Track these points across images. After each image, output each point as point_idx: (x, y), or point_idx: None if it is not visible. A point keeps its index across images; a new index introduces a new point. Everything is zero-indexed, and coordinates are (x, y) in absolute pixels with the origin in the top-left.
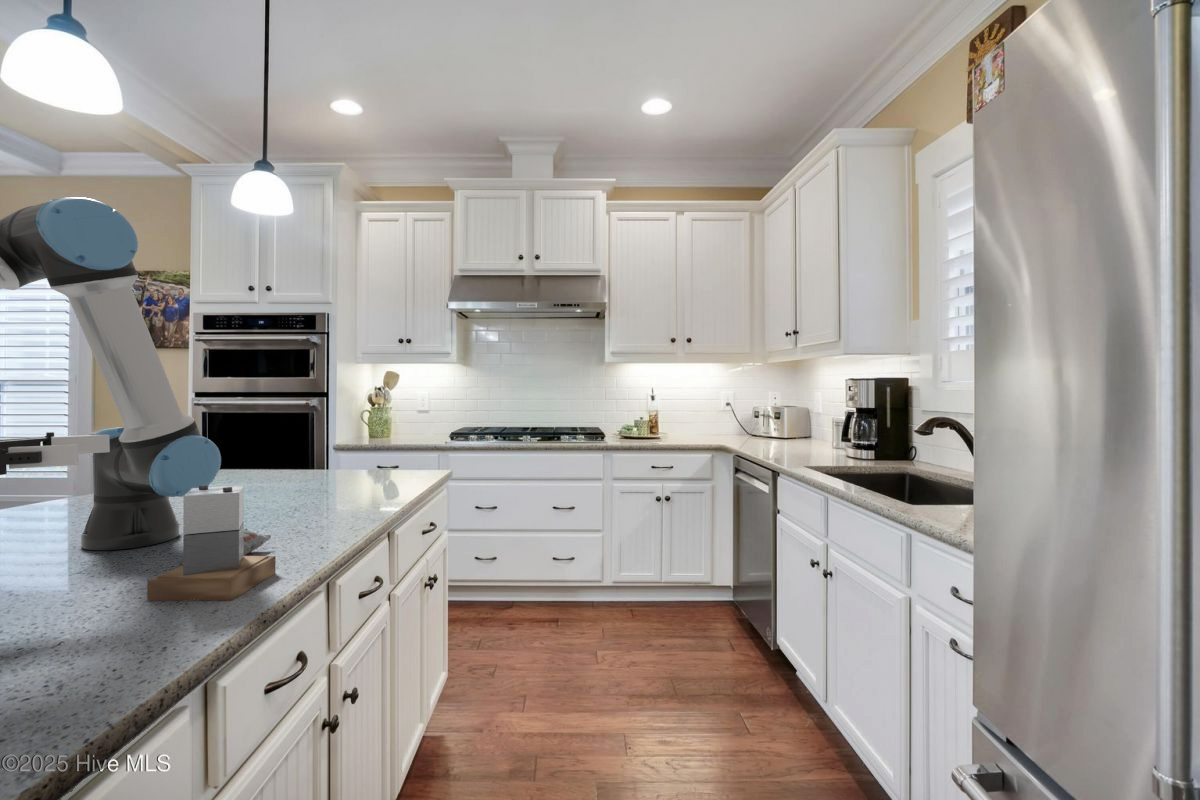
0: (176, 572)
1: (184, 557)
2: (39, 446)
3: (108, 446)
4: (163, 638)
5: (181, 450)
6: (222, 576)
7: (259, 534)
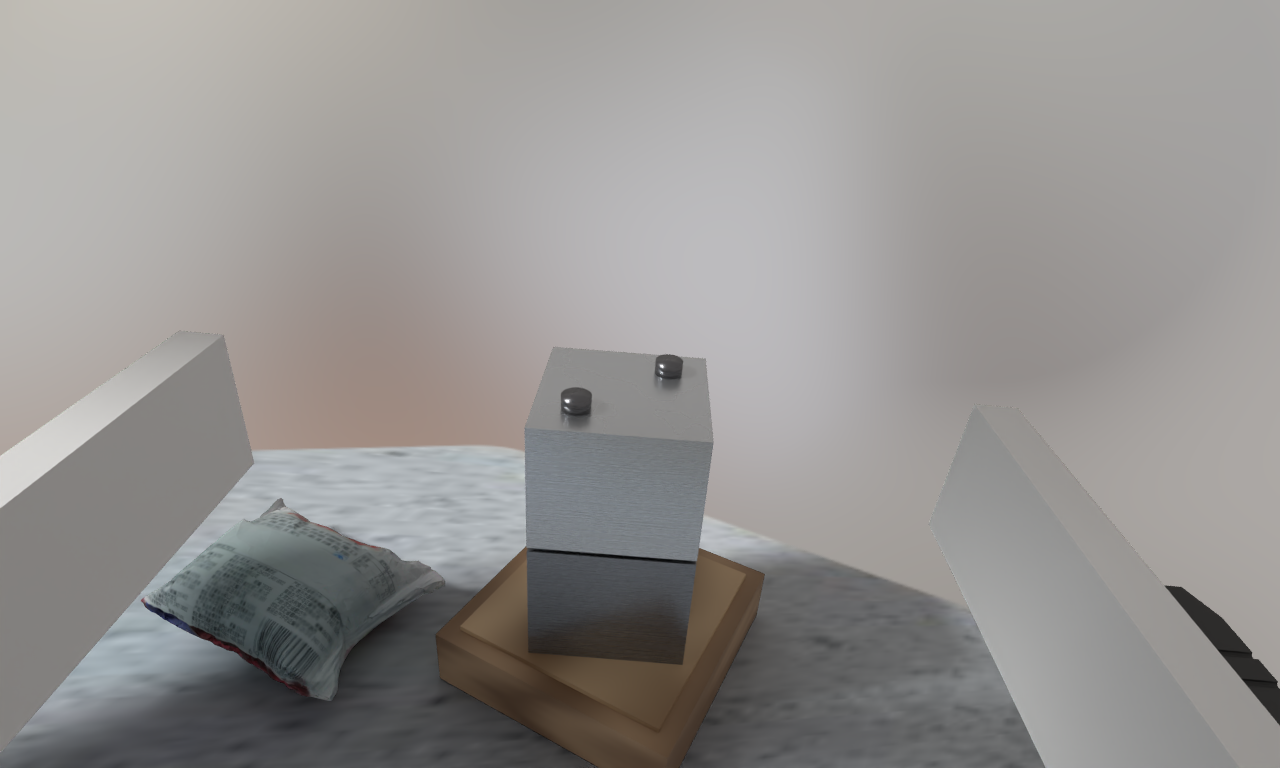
0: (633, 683)
1: (687, 619)
2: (1135, 555)
3: (238, 422)
4: (995, 728)
5: None
6: (735, 585)
7: (280, 511)
